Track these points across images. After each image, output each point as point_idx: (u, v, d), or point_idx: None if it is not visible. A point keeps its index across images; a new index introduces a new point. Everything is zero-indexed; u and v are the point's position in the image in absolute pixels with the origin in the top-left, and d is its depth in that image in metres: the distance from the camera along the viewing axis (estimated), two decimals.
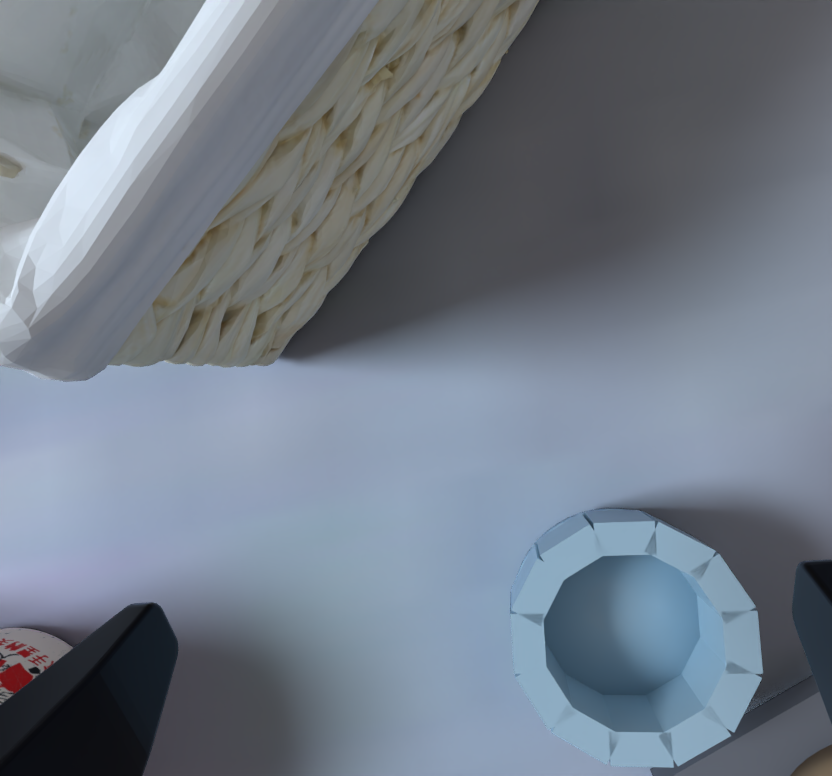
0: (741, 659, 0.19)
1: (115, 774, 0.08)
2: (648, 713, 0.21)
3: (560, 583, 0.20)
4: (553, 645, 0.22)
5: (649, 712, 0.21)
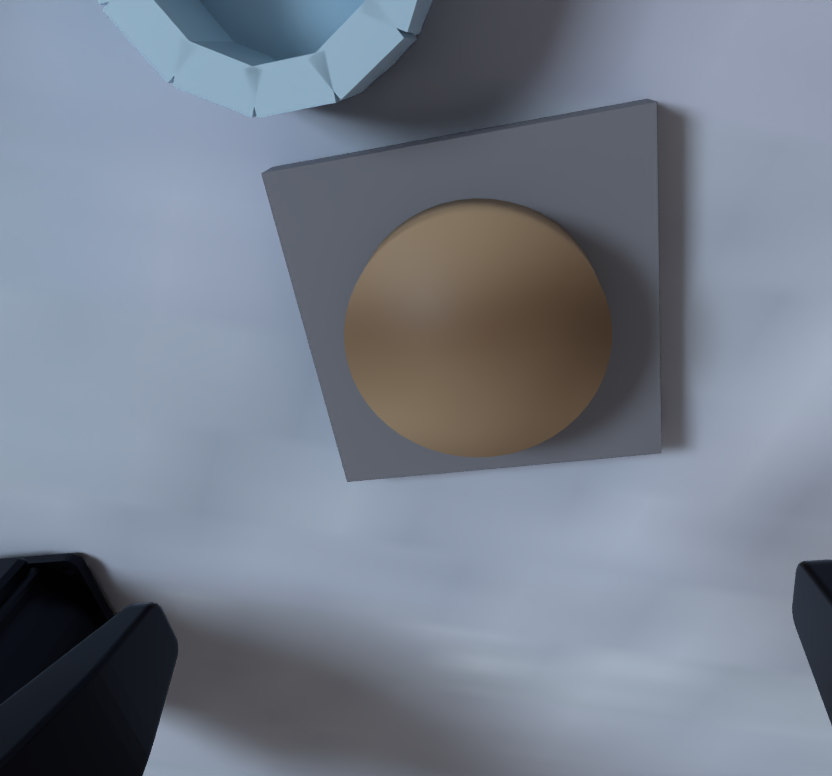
0: None
1: (115, 774, 0.08)
2: (262, 61, 0.15)
3: None
4: None
5: (265, 61, 0.15)
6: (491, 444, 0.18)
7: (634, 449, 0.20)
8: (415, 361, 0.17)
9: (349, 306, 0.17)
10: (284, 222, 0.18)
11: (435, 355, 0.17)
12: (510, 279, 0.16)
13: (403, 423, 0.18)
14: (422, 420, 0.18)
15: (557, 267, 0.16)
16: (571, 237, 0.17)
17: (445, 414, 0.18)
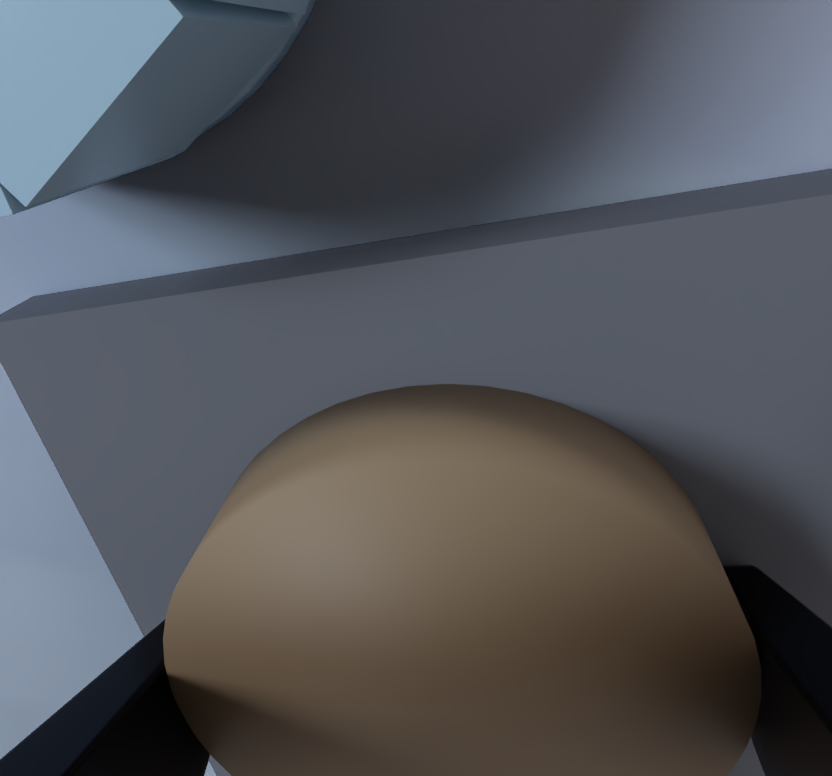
0: None
1: (180, 773, 0.08)
2: None
3: None
4: None
5: None
6: None
7: None
8: (322, 720, 0.08)
9: (168, 624, 0.08)
10: (48, 418, 0.08)
11: (364, 715, 0.08)
12: (528, 596, 0.07)
13: None
14: None
15: (642, 579, 0.07)
16: (662, 470, 0.08)
17: None
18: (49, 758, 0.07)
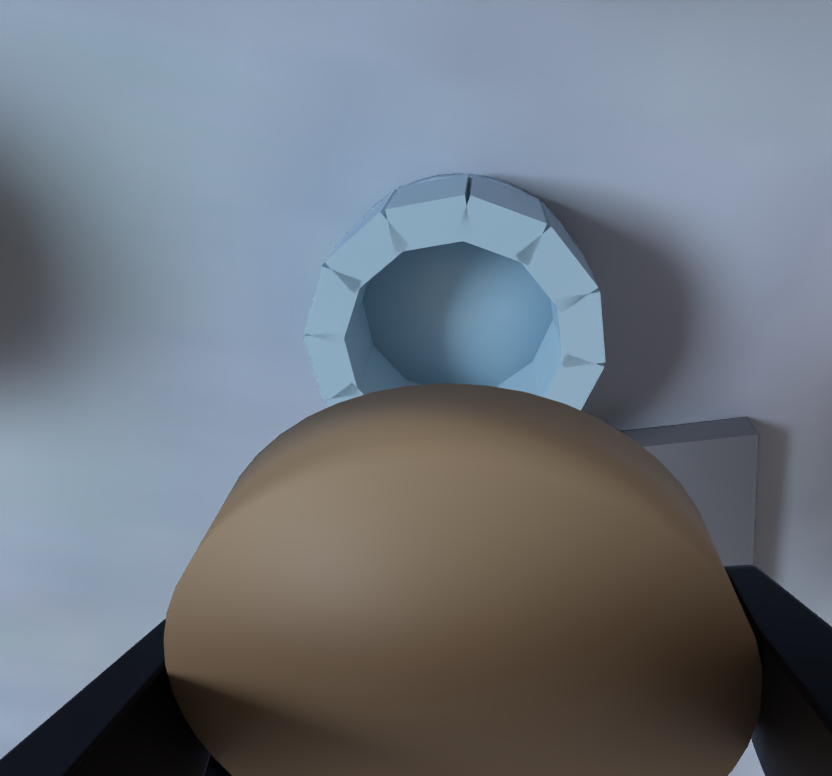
0: None
1: (180, 773, 0.08)
2: None
3: (397, 253, 0.15)
4: (371, 312, 0.19)
5: None
6: None
7: None
8: (323, 720, 0.08)
9: (169, 623, 0.08)
10: None
11: (364, 714, 0.08)
12: (529, 595, 0.07)
13: None
14: None
15: (643, 579, 0.07)
16: (663, 469, 0.08)
17: None
18: (49, 758, 0.07)
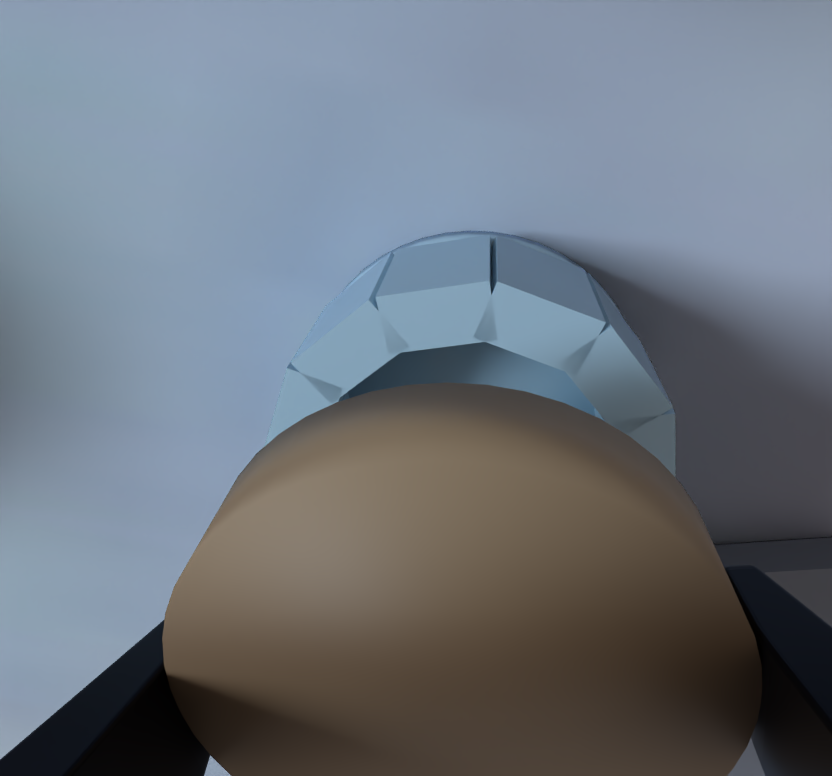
0: None
1: (180, 773, 0.08)
2: None
3: (391, 355, 0.11)
4: None
5: None
6: None
7: None
8: (322, 720, 0.08)
9: (168, 623, 0.08)
10: None
11: (364, 714, 0.08)
12: (528, 595, 0.07)
13: None
14: None
15: (643, 578, 0.07)
16: (662, 468, 0.08)
17: None
18: (49, 758, 0.07)
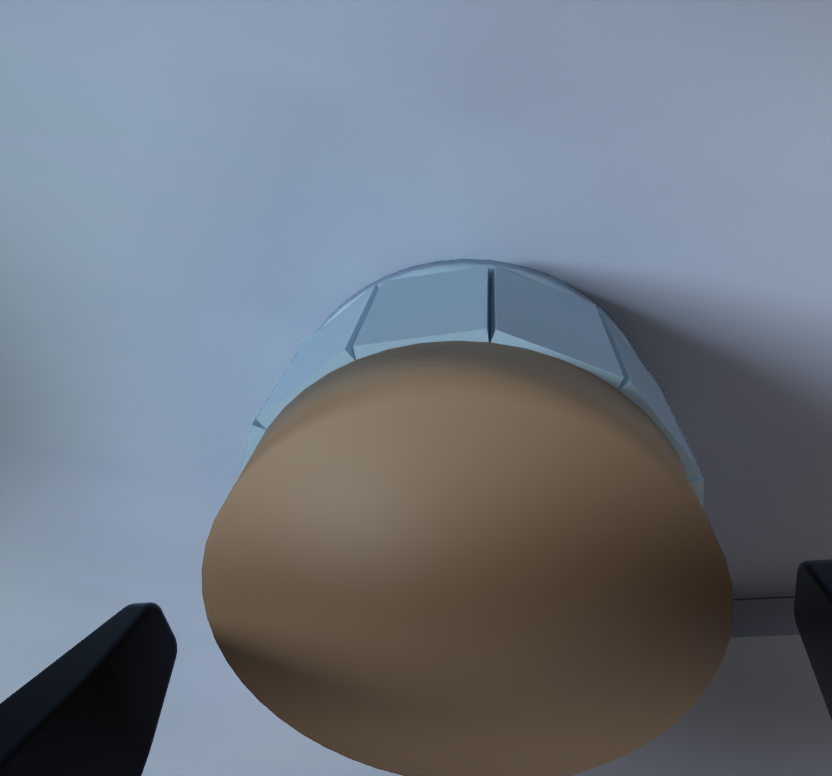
0: None
1: (114, 774, 0.08)
2: None
3: None
4: None
5: None
6: (489, 769, 0.10)
7: None
8: (343, 645, 0.09)
9: (207, 554, 0.09)
10: None
11: (381, 638, 0.09)
12: (527, 523, 0.08)
13: (328, 732, 0.10)
14: (362, 729, 0.10)
15: (627, 506, 0.07)
16: (646, 417, 0.09)
17: (404, 723, 0.10)
18: None
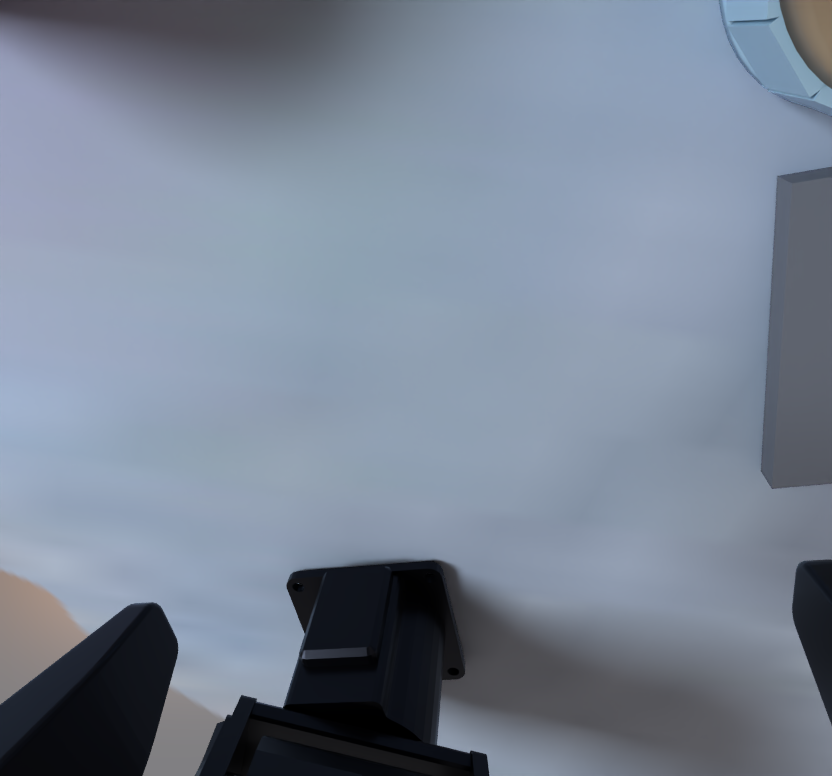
0: None
1: (115, 774, 0.08)
2: None
3: None
4: None
5: None
6: None
7: None
8: None
9: None
10: (799, 232, 0.18)
11: None
12: None
13: None
14: None
15: None
16: None
17: None
18: None
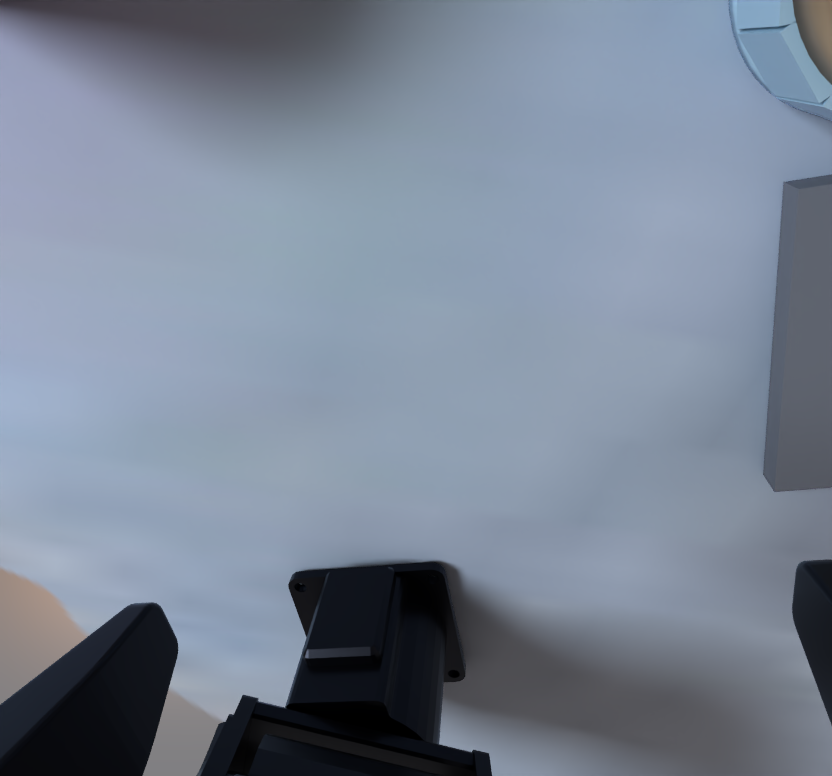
0: None
1: (115, 774, 0.08)
2: None
3: None
4: None
5: None
6: None
7: None
8: None
9: None
10: (805, 237, 0.18)
11: None
12: None
13: None
14: None
15: None
16: None
17: None
18: None
